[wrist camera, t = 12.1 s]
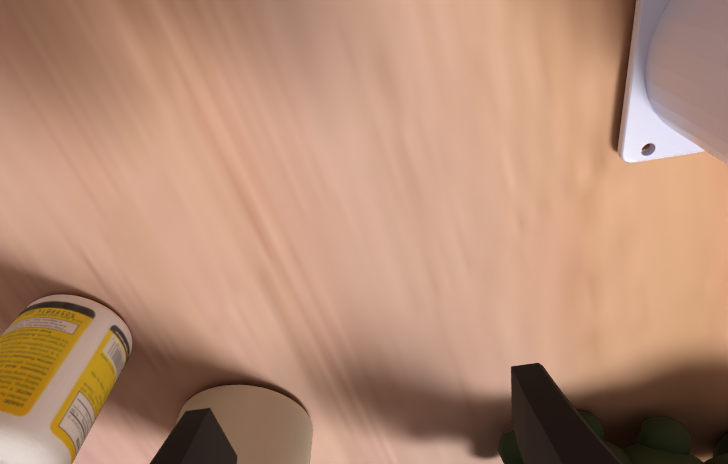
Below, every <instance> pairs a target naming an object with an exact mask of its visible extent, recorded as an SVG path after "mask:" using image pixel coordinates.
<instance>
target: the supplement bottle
mask: <svg viewBox="0 0 728 464" xmlns="http://www.w3.org/2000/svg"><path fill="white" fill-rule="evenodd" d="M131 350H132V337H131V333H130V331H129V328H128V327H127V325H126V324H125V323H124V321H123V320H122V319H121V318H120V317H119V316H118V315H117V314H115V313H114V312H113V311H111V310H110V309H108V308H107V307H105V306H103V305H101V304H99V303H97V302H95V301H92V300H90V299H87V298H83V297H79V296H74V295H64V294H61V295H51V296H46V297H43V298H40V299H38V300H36V301H34V302H33V303H31V304H30V305H29V306H28V307H27V308H26V309H25V310H24V311H23V312H22V313H21V314H20V315H19V316H18V317H17V318H16V319H15V321H14V322H13V323H12V324H11V325H10V326H9V327H8V328H7V329H6V331H5V332H4V333H3V334H2V335H1V336H0V464H72V463H73V461H74V459H75V457H76V455H77V453H78V452H79V450H80V448H81V446H82V444H83V442H84V440H85V438H86V437H87V435H88V433H89V431H90V429H91V427H92V425H93V424H94V422H95V420H96V418H97V416H98V414H99V412H100V411H101V409H102V407H103V405H104V403H105V401H106V399H107V398H108V396H109V394H110V392H111V390H112V388H113V386H114V385H115V383H116V381H117V379H118V377H119V375H120V373H121V372H122V370H123V368H124V366H125V364H126V362H127V360H128V358H129V356H130V353H131Z"/></svg>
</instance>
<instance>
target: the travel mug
mask: <svg viewBox="0 0 728 464" xmlns="http://www.w3.org/2000/svg"><path fill="white" fill-rule="evenodd" d="M205 408H210V409H211V411H212V412H213V414H214V416H215V418H216V419H217V421H218V423H219V425H220V426H221V428H222V430H223V432H224V433H225V435H226V437H227V439H228V440H229V442H230V444H231V446H232V448H233V449H234V451H235V453H236V455H237V464H310V456H311V446H312V435H313V426H312V422H311V420H310V418H309V416H308V414H307V413H306V412H305V410H304V409H303V408H302V407H301V406H300V405H298V404H297V403H296V402H295V401H293V400H292V399H290V398H288V397H287V396H285V395H283V394H280V393H278V392H275V391H272V390H269V389H266V388H262V387H257V386H250V385H225V386H219V387H214V388H210V389H207V390H204V391H202V392H200V393H198V394H196V395H194V396H193V397H192V398H190V399H189V400H188V401H187V402H186V403H185V404H184V406H183V407H182V409H181V411H180V414H179V416H178V419H177V422H176V424H177V423H178V422H179V420H180V419H181V417H182V416H183V414H184V413H185V412H186V411H190V410H197V409H205ZM176 424H175V426H176Z"/></svg>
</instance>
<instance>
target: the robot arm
mask: <svg viewBox="0 0 728 464" xmlns="http://www.w3.org/2000/svg"><path fill="white" fill-rule="evenodd" d="M649 143H650V146H649V148H648V149H647V150H646V151H643V152H641V150H642V148H643V147H644V146H645V145H646V144H649ZM704 151H706V152H708V153H710V154H711V155H713V156H714V157H716V158H717V159H719V160H721V161H722V162H724V163H725V164H727V165H728V0H636V8H635V16H634V24H633V32H632V40H631V48H630V56H629V63H628V71H627V79H626V87H625V95H624V103H623V111H622V119H621V127H620V135H619V143H618V155H619V157H620V158H621V159H622V160H623V161H625V162H627V163H635V162H641V161H647V160H654V159H660V158H666V157H673V156H679V155H685V154H691V153H698V152H704ZM511 389H512V424H513V427H514V431H515V435H516V438H517V442H518V446H519V449H520V453H521V456H522V460H523V463H524V464H623V463H622V462H621V461H620V460H619V459H618V458H617V457H616V456H615V454H614V453H613V452H612V451H611V450H610V449H609V448H608V447H607V445H606V444H605V443H604V442H603V441H602V440H601V439H600V437H599V436H598V435H597V434H596V433H595V432H594V431H593V430H592V428H591V427H590V426H589V425H588V424H587V422H586V421H585V420H584V419H583V418H582V416H581V415H580V414H579V413H578V412H577V410H576V409H575V408H574V407H573V405H572V404H571V403H570V402H569V400H568V399H567V398H566V397H565V395H564V394H563V393H562V391H561V390H560V389H559V387H558V386H557V385H556V383H555V382H554V381H553V379H552V378H551V377H550V375H549V374H548V372H547V371H546V370H545V368H544V367H543V366H542V365H541V364H539V363H534V364H527V365H519V366H512V367H511ZM150 464H237V455H236V453H235V451H234V449H233V448H232V446H231V444H230V442H229V440H228V439H227V437H226V435H225V433H224V432H223V430H222V428H221V426H220V425H219V423H218V421H217V419H216V418H215V416H214V414H213V412H212V411H211V409H210V408H205V409H197V410H190V411H186V412H185V413H184V414H183V416H182V417H181V419H180V420H179V422H178V423H177V424H176V426H175V427H174V429H173V430H172V432H171V433H170V435H169V436H168V438H167V439H166V441H165V442H164V444H163V445H162V446H161V448H160V449H159V451H158V452H157V454H156V455H155V457H154V458H153V460H152V461H151V463H150Z"/></svg>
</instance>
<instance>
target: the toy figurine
mask: <svg viewBox="0 0 728 464" xmlns="http://www.w3.org/2000/svg"><path fill="white" fill-rule="evenodd" d="M578 413H579V414H580V415H581V416H582V418H583V419H584V420H585V421H586V422H587V424H588V425H589V426H590V427H591V428H592V430H593V431H594V432H595V433H596V434H597V435H598V436H599V437H600V439H601V440H602V441H603V439H604V433H603V428H602V425H601V423H600V421H599V419H598V418H596V417H595V416H594V415H593V414H592V413H589V412H584V411H579V412H578ZM637 439H638V441H639V443H640V444H635V445H632V446H628V447H626V448H624V449H622V450H621V449H620V448H618V447H617V446H615V445H614V444H612V443H609V442H606V441H603V442H604V443H605V444H606V445H607V447H608V448H609V449H610V450H611V451H612V452H613V453H614V454H615V456H616V457H617V458H618V459H619V460H620V461H621V462H622V463H623V464H728V433H727V434H726V435H725V436H724V437H723V438H721V440H720V441H719V442H718V443H717V444H716V445H715V447H714V450H713V458H711V459H709V460H707V461H705V462H702V461H701V460H700V459H698V458H697V457H695V456H693V455H692V454H690V449H691V443H692V439H691V437H690V436H689V434H688V433H687V431H686V430H685V429H684V427H683V426H682V425H681V424H680V422H678V421H676V420H673V419H671V418H669V417H666V416H662V417H650V418H647V419H645V421H644V423H643V425H642V426H641V429H640V432H639V435H638V438H637ZM498 452H499V454H500V456H501V458H502V461H503V463H504V464H524V463H523V460H522V456H521V453H520V449H519V446H518V442H517V438H516V435H515V431H514V430H512V431H509V432H505V433H503V435H502V438H501V440H500V442H499V445H498Z"/></svg>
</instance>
